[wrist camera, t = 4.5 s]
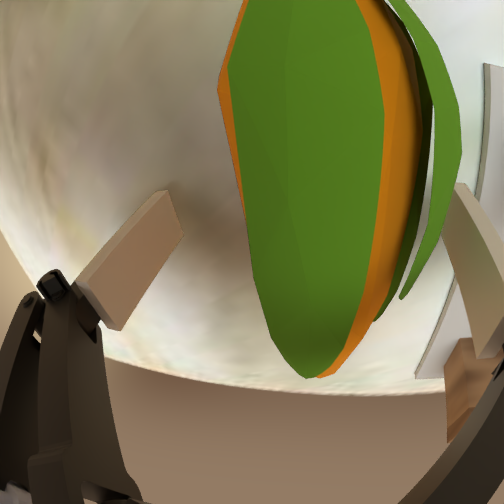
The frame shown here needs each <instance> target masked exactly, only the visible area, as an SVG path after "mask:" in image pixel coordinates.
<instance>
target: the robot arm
mask: <svg viewBox="0 0 504 504" xmlns="http://www.w3.org/2000/svg"><path fill="white" fill-rule="evenodd" d="M183 236H184V234H183V231H182V228H181V226H180V223H179V220H178V218H177V215H176V212H175V209H174V206H173V204H172V201H171V198H170V195H169V192H168V190H165V191H156V192H155V193H154V194H153V195H152V196H151V197H150V198H149V199H148V200H147V201H146V202H145V203H144V204H143V205H142V206H141V207H140V208H139V209H138V210H137V211H136V212H135V213H134V214H133V215H132V216H131V217H130V218H129V219H128V220H127V221H126V222H125V223H124V224H123V226H122V227H121V228H120V229H119V230H118V231H117V232H116V233H115V234H114V235H113V236H112V238H111V239H110V240H109V241H108V242H107V243H106V244H105V245H104V246H103V248H102V249H101V250H100V251H99V252H98V253H97V254H96V256H95V257H94V258H93V259H92V260H91V261H90V263H89V264H88V265H87V266H86V267H85V269H84V270H83V271H82V272H81V273H80V275H79V276H78V277H77V278H76V280H75V281H74V282H73V283H72V284H71V286H70V285H69V283H68V282H67V280H66V279H65V277H64V276H63V274H62V273H61V271H60V270H58V269H54V270H51V271H49V272H48V273H46V274H45V275H44V276H43V277H42V278H41V279H40V280H39V281H38V283H37V285H36V287H37V288H38V290H39V291H40V292H41V294H42V295H43V297H44V298H45V299H42V298H41V296H40V295H39V293H38V292H36V291H33V292H31V293H28V294H27V295H25V296H24V298H23V299H22V300H21V302H20V304H19V306H18V308H17V310H16V312H15V315H14V317H13V319H12V322H11V324H10V326H9V329H8V332H7V334H6V336H5V339H4V342H3V344H2V347H1V350H0V504H84V500H83V498H85V499H88V500H91V501H94V502H96V503H98V504H151V503H147V502H143V499H142V496H141V493H140V491H139V488H138V486H137V484H136V483H135V481H134V480H133V479H132V478H131V477H130V476H129V474H128V473H127V471H126V469H125V466H124V462H123V458H122V455H121V451H120V447H119V442H118V438H117V433H116V429H115V424H114V419H113V414H112V408H111V404H110V397H109V392H108V384H107V378H106V370H105V362H104V353H103V343H102V332H101V328H100V327H99V325H98V323H99V321H100V320H102V321H103V322H104V324H105V325H106V326H107V328H108V329H112V330H117V331H121V330H122V328H123V327H124V325H125V323H126V322H127V320H128V319H129V317H130V315H131V314H132V312H133V311H134V309H135V307H136V306H137V304H138V303H139V301H140V300H141V298H142V297H143V295H144V293H145V292H146V290H147V289H148V287H149V286H150V284H151V283H152V281H153V280H154V278H155V277H156V275H157V274H158V272H159V271H160V269H161V268H162V266H163V265H164V263H165V262H166V260H167V259H168V257H169V256H170V254H171V253H172V251H173V250H174V249H175V247H176V246H177V244H178V243H179V241H180V240H181V238H182V237H183ZM442 238H443V241H444V244H445V246H446V249H447V252H448V255H449V257H450V260H451V263H452V266H453V269H454V272H455V275H456V278H457V282H458V285H459V288H460V291H461V295H462V298H463V302H464V306H465V309H466V313H467V317H468V321H469V325H470V330H471V334H472V339H473V343H474V348H475V354H476V359H484V358H493V357H495V356H496V355H497V353H498V352H499V350H500V349H501V347H502V348H503V352H504V244H503V242H502V240H501V238H500V236H499V235H498V233H497V231H496V230H495V228H494V226H493V225H492V223H491V221H490V220H489V218H488V216H487V215H486V213H485V212H484V210H483V209H482V207H481V206H480V204H479V202H478V201H477V199H476V198H475V197H474V195H473V194H472V192H471V191H470V189H469V188H468V187H467V185H466V184H465V183H455V186H454V189H453V193H452V197H451V201H450V204H449V208H448V211H447V214H446V218H445V221H444V225H443V231H442ZM34 330H35V331H36V332H37V333H38V335H39V336H40V337H41V343H39V342H38V341H37V340H36V339H35V337H34V336H33V333H34ZM491 374H492V375H493V377H492V379H491V381H490V383H489V385H488V386H487V388H486V390H485V392H484V393H483V395H482V397H481V398H480V400H479V402H478V403H477V405H476V407H475V408H474V410H473V411H472V413H471V415H470V416H469V418H468V419H467V421H466V422H465V424H464V425H463V427H462V428H461V430H460V431H459V432H458V434H457V435H456V437H455V438H454V439H453V441H452V442H451V443H450V445H449V446H448V448H447V449H446V450H445V451H444V453H443V454H442V455H441V456H440V458H439V459H438V460H437V461H436V463H435V464H434V465H433V466H432V467H431V469H430V470H429V471H428V472H427V473H426V474H425V475H424V477H423V478H422V479H421V480H420V481H419V482H418V483H417V484H416V486H414V488H413V489H412V490H411V491H410V492H409V493H408V494H407V495H406V496H405V497H404V498H403V499H402V500H401V501H400V502H399V503H398V504H487V503H488V501H489V500H490V499H491V497H492V496H493V494H494V493H495V491H496V490H497V488H498V487H499V485H500V484H501V482H502V480H503V479H504V358H503V359H502V360H501V362H500V363H499V364H498V366H497V367H496V368H495V369H494V371H493V372H492V373H491Z"/></svg>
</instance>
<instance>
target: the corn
mask: <svg viewBox="0 0 504 504" xmlns="http://www.w3.org/2000/svg"><path fill="white" fill-rule="evenodd" d="M389 2H390V3H391V5H392V6H393V8H394V9H395V10H396V12H397V14H398V15H399V17H400V18H401V19H400V18H399V17H398V16H397V14H396V13H395V12H394V11H393V10H392V9H391V8H390V7H389V5H388V4H387V3H386V2H385V1H384V0H243V3H242V6H241V9H240V12H239V15H238V18H237V21H236V24H235V27H234V30H233V33H232V36H231V39H230V42H229V45H228V48H227V52H226V55H225V58H224V62H223V65H222V68H221V72H220V75H219V81H218V88H217V92H218V96H219V101H220V105H221V110H222V114H223V119H224V124H225V128H226V133H227V137H228V142H229V146H230V151H231V156H232V160H233V165H234V169H235V174H236V179H237V183H238V188H239V192H240V197H241V201H242V206H243V211H244V215H245V220H246V224H247V230H248V238H249V246H250V254H251V262H252V270H253V278H254V281H255V285H256V288H257V292H258V295H259V298H260V302H261V305H262V309H263V312H264V316H265V319H266V322H267V326H268V329H269V333H270V336H271V338H272V340H273V342H274V343H275V345H276V346H277V348H278V350H279V351H280V353H281V354H282V356H283V358H284V359H285V360H286V362H287V363H288V364H289V365H290V366H291V367H292V368H293V369H294V370H295V371H296V372H297V373H298V374H299V375H300V376H302V377H304V378H306V379H308V378H314V377H317V378H323V377H326V376H329V375H331V374H334V373H335V372H336V371H337V370H338V369H339V368H340V366H341V365H342V364H343V363H344V362H345V360H346V359H347V358H348V357H349V355H350V354H351V353H352V352H353V350H354V349H355V348H356V347H357V345H358V344H359V343H360V341H361V340H362V339H363V337H364V335H365V334H366V332H367V330H368V329H369V327H370V325H371V324H372V322H374V321H376V320H377V319H378V318H379V317H380V316H381V315H382V314H383V312H384V311H385V309H386V308H387V306H388V305H389V303H390V302H391V300H392V298H393V297H394V295H395V294H396V292H397V290H398V287H399V285H400V282H401V279H402V277H403V274H404V271H405V268H406V266H407V263H408V260H409V257H410V254H411V251H412V248H413V245H414V242H415V239H416V235H417V230H418V225H419V220H420V215H421V210H422V204H423V198H424V191H425V185H426V178H427V170H428V161H429V152H430V141H431V128H432V110H433V106H434V112H435V140H434V165H433V180H432V192H431V202H430V211H429V219H428V225H427V228H426V231H425V234H424V236H423V239H422V242H421V245H420V247H419V250H418V253H417V255H416V258H415V261H414V263H413V266H412V268H411V271H410V273H409V276H408V278H407V280H406V282H405V285H404V287H403V289H402V291H401V293H400V295H399V298H400V300H402V299H403V298H404V297H405V296H406V295H407V294H408V292H409V291H410V289H411V288H412V286H413V284H414V283H415V281H416V279H417V278H418V276H419V274H420V273H421V271H422V269H423V267H424V266H425V264H426V262H427V260H428V259H429V257H430V255H431V253H432V251H433V250H434V248H435V246H436V244H437V242H438V239H439V236H440V233H441V230H442V227H443V224H444V221H445V218H446V214H447V211H448V208H449V204H450V201H451V197H452V193H453V189H454V186H455V182H456V178H457V173H458V169H459V165H460V160H461V155H462V144H461V127H460V115H459V106H458V102H457V99H456V96H455V92H454V89H453V86H452V83H451V80H450V77H449V74H448V72H447V69H446V66H445V63H444V61H443V58H442V56H441V53H440V51H439V48H438V46H437V44H436V43H435V41H434V40H433V38H432V37H431V35H430V34H429V32H428V31H427V29H426V28H425V27H424V25H423V24H422V22H421V21H420V20H419V18H418V17H417V16H416V14H415V13H414V12H413V10H412V9H411V8H410V6H409V5H408V4H407V3H406V1H405V0H389ZM404 24H405V25H404ZM405 26H406V27H405ZM406 28H407V29H408V31H409V33H410V34H411V36H412V38H413V40H414V42H415V45H416V48H417V50H416V48H415V45H414V43H413V41H412V39H411V37H410V35H409V33H408V31H407V29H406ZM417 51H418V52H417Z"/></svg>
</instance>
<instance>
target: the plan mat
mask: <svg viewBox="0 0 504 504" xmlns="http://www.w3.org/2000/svg"><path fill="white" fill-rule="evenodd" d="M484 72H485V114H484V132H483V144H482V154H481V162H480V170H479V177H478V183H477V189H476V195H475V198H476V199H477V201H478V202H479V204H480V206H481V207H482V209H483V210H484V212H485V213H486V215H487V216H488V218H489V220H490V221H491V223H492V225H493V226H494V228H495V230H496V231H497V233H498V235H499V236H500V238H501V240H502V242H503V244H504V68H503V67H499V66H495V65H491V64H487V63H484ZM469 337H472V334H471V330H470V325H469V321H468V317H467V313H466V309H465V306H464V302H463V298H462V295H461V291H460V288H459V285H458V282H457V278H456V275H455V278H454V281H453V284H452V287H451V290H450V293H449V296H448V298H447V301H446V304H445V306H444V309H443V312H442V314H441V317H440V319H439V322H438V324H437V327H436V329H435V331H434V334H433V336H432V338H431V341H430V343H429V345H428V347H427V349H426V352H425V354H424V356H423V358H422V360H421V362H420V364H419V366H418V368H417V370H416V372H415V379H433V378H444V368H443V367H444V365H445V363H446V362H447V360H448V358H449V356H450V355H451V353H452V351H453V349H454V348H455V346H456V344H457V342H458V340H459V338H469Z"/></svg>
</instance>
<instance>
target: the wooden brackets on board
mask: <svg viewBox="0 0 504 504" xmlns="http://www.w3.org/2000/svg"><path fill="white" fill-rule="evenodd" d="M503 358H504V352H503V348H502V347H501V349H500V350H499V352H498V353H497V355H496V356H495V357H493V358H484V359H476V354H475V348H474V343H473V339H472V337H469V338H459V340H458V342H457V344H456V346H455V348H454V349H453V351H452V353H451V355H450V356H449V358H448V360H447V362H446V363H445V365H444V367H443V368H444V378H445V391H446V409H447V443H451V442H452V441H453V439H454V438H455V437H456V435H457V434H458V432H459V431H460V430H461V428H462V427H463V425H464V424H465V422H466V421H467V419H468V418H469V416H470V415H471V413H472V411H473V410H474V408H475V407H476V405H477V403H478V402H479V400H480V398H481V397H482V395H483V393H484V392H485V390H486V388H487V386H488V385H489V383H490V381H491V379H492V377H493V375H492V374H491V373H492V372H493V371H494V369H495V368H496V367H497V366H498V364H499V363H500V362H501V360H502V359H503Z"/></svg>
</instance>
